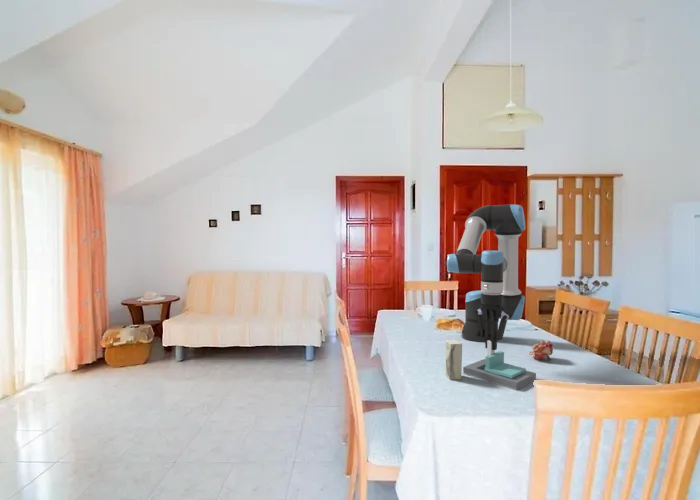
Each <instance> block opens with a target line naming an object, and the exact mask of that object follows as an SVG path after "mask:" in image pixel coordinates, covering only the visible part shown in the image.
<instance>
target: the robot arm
mask: <svg viewBox="0 0 700 500" xmlns="http://www.w3.org/2000/svg"><path fill="white" fill-rule="evenodd" d="M464 228H465V229H464V230H463V235H461V237H462V238H461V239H460V242H459V244H458V248H457V250H456V253H450V254H449V255H448V256H447V259H446V268H447V269H446V270H447V271H448V272H449V273H456V274H477V275H481V277H480V279H481V280H480V290H471V291H469V292H467V293H466V294H465V301H464V302H465V320H464V323H463V324H464V325H463V327H462V330H461V339H464V340H467V341H471V342H478V343H479V342H480V343H481V342H482V343H483V342H485V343H484V344H485V346H484V347H485V349H486V356H489V355H491V354H494V353H496V350H497V349H498V342H499V341H501V340H503V338H504V334H505V329H506V327H507V323H508V321H520V320H521V319H522V318H523V312H524V307H525V300H526V299H525V298H526V297H525V295H522V290H520V289H519V237H521V235H522V234H523V232H524V231H525V230H526V219H525V212H524V208H523V206H522V205H520V204H512V203H511V204H497V205H495V204H494V205H493V204H492V205H491V204H490V205H483V206H482V207H478V208H477V209H474V211H473V212H471V213H470V214H469V215H468V216H467V218H466V220H465V223H464ZM486 231H494V236H496V237H497V240H498V242H497V243H498V244H497V249H498V250H483V251H482V252H481V254H477V251H478V248H479V245H480V241H481V239H482V236H483V234H484V233H485V232H486Z"/></svg>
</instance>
